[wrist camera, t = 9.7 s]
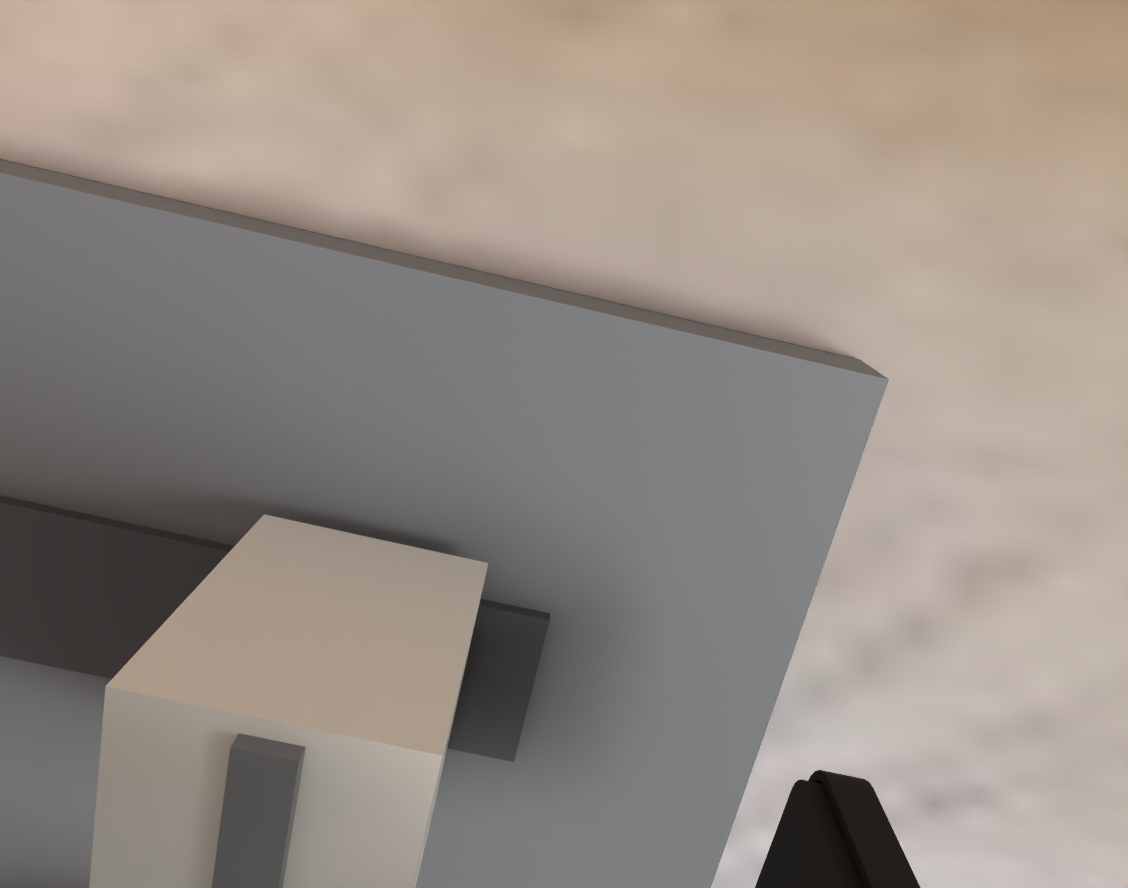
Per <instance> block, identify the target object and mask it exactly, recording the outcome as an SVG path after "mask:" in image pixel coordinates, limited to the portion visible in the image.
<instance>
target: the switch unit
mask: <svg viewBox="0 0 1128 888" xmlns="http://www.w3.org/2000/svg"><path fill="white" fill-rule="evenodd" d="M888 380H889V379H887V378H886V377H884V376H883V375H882V374H880V373H879V372H877V371H876V370H874V369H873V368H871V367H870V366H868V365H867V364H866V363H864V362H863V361H861V360H858V359H854V358H850V357H845V356H841V355H837V354H833V353H828V352H824V351H820V350H815V349H811V348H807V347H803V346H798V345H794V344H790V343H785V342H781V341H777V340H773V339H768V338H764V337H760V336H756V335H751V334H747V333H743V332H738V331H734V330H730V329H726V328H721V327H717V326H713V325H708V324H704V323H700V322H696V321H691V320H687V319H683V318H678V317H674V316H670V315H666V314H661V313H657V312H653V311H648V310H644V309H640V308H636V307H631V306H627V305H623V304H618V303H614V302H610V301H606V300H601V299H597V298H593V297H588V296H584V295H580V294H576V293H571V292H567V291H563V290H558V289H554V288H550V287H546V286H541V285H537V284H533V283H528V282H524V281H520V280H516V279H511V278H507V277H503V276H498V275H494V274H490V273H486V272H481V271H477V270H473V269H468V268H464V267H460V266H456V265H451V264H447V263H443V262H438V261H434V260H430V259H426V258H421V257H417V256H413V255H408V254H404V253H400V252H396V251H391V250H387V249H383V248H378V247H374V246H370V245H366V244H361V243H357V242H353V241H348V240H344V239H340V238H336V237H331V236H327V235H323V234H318V233H314V232H310V231H306V230H301V229H297V228H293V227H288V226H284V225H280V224H276V223H271V222H267V221H263V220H258V219H254V218H250V217H246V216H241V215H237V214H233V213H228V212H224V211H220V210H216V209H211V208H207V207H203V206H198V205H194V204H190V203H186V202H181V201H177V200H173V199H168V198H164V197H160V196H156V195H151V194H147V193H143V192H138V191H134V190H130V189H126V188H121V187H117V186H113V185H109V184H104V183H100V182H96V181H91V180H87V179H83V178H79V177H74V176H70V175H66V174H61V173H57V172H53V171H49V170H44V169H40V168H36V167H31V166H27V165H23V164H19V163H14V162H10V161H6V160H1V159H0V888H89V884H90V871H91V859H92V847H93V834H94V822H95V809H96V797H97V785H98V772H99V760H100V747H101V735H102V723H103V710H104V698H105V686H106V685H107V684H108V683H109V682H110V681H111V680H112V679H113V678H114V676H115V675H116V674H117V673H118V672H119V671H120V670H121V669H122V668H123V667H124V666H125V665H126V663H127V662H128V661H129V660H130V659H131V658H132V657H133V656H134V655H135V654H136V653H137V652H138V650H139V649H140V648H141V647H142V646H143V645H144V644H145V643H146V642H147V641H148V640H149V639H150V637H151V636H152V635H153V634H154V633H155V632H156V631H157V630H158V629H159V628H160V627H161V626H162V624H163V623H164V622H165V621H166V620H167V619H168V618H169V617H170V616H171V615H172V614H173V613H174V611H175V610H176V609H177V608H178V607H179V606H180V605H181V604H182V603H183V602H184V601H185V600H186V598H187V597H188V596H189V595H190V594H191V593H192V592H193V591H194V590H195V589H196V588H197V587H198V585H199V584H200V583H201V582H202V581H203V580H204V579H205V578H206V577H207V576H208V575H209V574H210V572H211V571H212V570H213V569H214V568H215V567H216V566H217V565H218V564H219V563H220V562H221V561H222V559H223V558H224V557H225V556H226V555H227V554H228V553H229V552H230V551H231V550H232V549H233V548H234V546H235V545H236V544H237V543H238V542H239V541H240V540H241V539H242V538H243V537H244V536H245V535H246V533H247V532H248V531H249V530H250V529H251V528H252V527H253V526H254V525H255V524H256V523H257V522H258V520H259V519H260V518H261V517H262V516H263V515H264V514H265V515H270V516H274V517H279V518H283V519H288V520H293V521H297V522H302V523H306V524H311V525H316V526H320V527H325V528H329V529H334V530H339V531H343V532H348V533H352V534H357V535H362V536H366V537H371V538H375V539H380V540H385V541H389V542H394V543H398V544H403V545H408V546H412V547H417V548H421V549H426V550H431V551H435V552H440V553H444V554H449V555H454V556H458V557H463V558H467V559H472V560H477V561H481V562H486V563H488V567H487V571H486V576H485V580H484V585H483V589H482V594H481V598H480V603H479V607H478V612H477V616H476V621H475V625H474V630H473V634H472V639H471V643H470V648H469V652H468V657H467V661H466V666H465V670H464V675H463V679H462V684H461V688H460V693H459V697H458V702H457V706H456V711H455V715H454V720H453V724H452V729H451V733H450V738H449V742H448V747H447V751H446V756H445V760H444V765H443V769H442V774H441V778H440V783H439V787H438V792H437V796H436V801H435V805H434V809H433V814H432V818H431V822H430V827H429V831H428V835H427V839H426V844H425V848H424V852H423V857H422V861H421V865H420V869H419V874H418V878H417V882H416V887H415V888H711V885H712V882H713V879H714V876H715V874H716V871H717V868H718V865H719V862H720V859H721V857H722V854H723V851H724V848H725V845H726V842H727V839H728V837H729V834H730V831H731V828H732V825H733V822H734V819H735V817H736V814H737V811H738V808H739V805H740V802H741V799H742V797H743V794H744V791H745V788H746V785H747V782H748V779H749V777H750V774H751V771H752V768H753V765H754V762H755V759H756V757H757V754H758V751H759V748H760V745H761V742H762V739H763V737H764V734H765V731H766V728H767V725H768V722H769V719H770V717H771V714H772V711H773V708H774V705H775V702H776V699H777V697H778V694H779V691H780V688H781V685H782V682H783V680H784V677H785V674H786V671H787V668H788V665H789V662H790V660H791V657H792V654H793V651H794V648H795V645H796V642H797V640H798V637H799V634H800V631H801V628H802V625H803V622H804V620H805V617H806V614H807V611H808V608H809V605H810V602H811V600H812V597H813V594H814V591H815V588H816V585H817V582H818V580H819V577H820V574H821V571H822V568H823V565H824V562H825V560H826V557H827V554H828V551H829V548H830V545H831V542H832V540H833V537H834V534H835V531H836V528H837V525H838V522H839V520H840V517H841V514H842V511H843V508H844V505H845V503H846V500H847V497H848V494H849V491H850V488H851V485H852V483H853V480H854V477H855V474H856V471H857V468H858V465H859V463H860V460H861V457H862V454H863V451H864V448H865V445H866V443H867V440H868V437H869V434H870V431H871V428H872V425H873V423H874V420H875V417H876V414H877V411H878V408H879V405H880V403H881V400H882V397H883V394H884V391H885V388H886V385H887V383H888Z"/></svg>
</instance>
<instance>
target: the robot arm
mask: <svg viewBox="0 0 1128 888" xmlns="http://www.w3.org/2000/svg"><path fill="white" fill-rule="evenodd" d="M755 888H920V886H919V884H918V882H917V880H916V878H915V876H914V873H913V871H912V869H911V867H910V865H909V863H908V861H907V859H906V857H905V854H904V852H903V850H902V848H901V846H900V844H899V842H898V840H897V837H896V835H895V833H894V831H893V829H892V827H891V825H890V823H889V821H888V818H887V816H886V814H885V812H884V810H883V808H882V806H881V804H880V802H879V799H878V797H877V795H876V793H875V791H874V789H873V787H872V786H871V784H870V783H869V782H868V781H866V780H865V779H861V778H856V777H851V776H846V775H841V774H836V773H831V772H826V771H822V770H818V771H815V772H814V773H813V774H812V775H811V777H810V779H809V781H805V780H798V781H797V782H796V783H795V784H794V786H793V788H792V790H791V793H790V795H789V798H788V801H787V803H786V806H785V809H784V812H783V814H782V817H781V820H780V822H779V825H778V828H777V830H776V833H775V836H774V838H773V841H772V844H771V846H770V849H769V852H768V854H767V857H766V860H765V862H764V865H763V868H762V870H761V873H760V876H759V878H758V881H757V884H756V887H755Z"/></svg>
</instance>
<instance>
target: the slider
mask: <svg viewBox="0 0 1128 888" xmlns="http://www.w3.org/2000/svg"><path fill="white" fill-rule="evenodd" d="M487 567H488V563H486V562H481V561H477V560H472V559H467V558H463V557H458V556H454V555H449V554H444V553H440V552H435V551H431V550H426V549H421V548H417V547H412V546H408V545H403V544H398V543H394V542H389V541H385V540H380V539H375V538H371V537H366V536H362V535H357V534H352V533H348V532H343V531H339V530H334V529H329V528H325V527H320V526H316V525H311V524H306V523H302V522H297V521H293V520H288V519H283V518H279V517H274V516H270V515H265V514H264V515H263V516H262V517H261V518H260V519H259V520H258V522H257V523H256V524H255V525H254V526H253V527H252V528H251V529H250V530H249V531H248V532H247V533H246V535H245V536H244V537H243V538H242V539H241V540H240V541H239V542H238V543H237V544H236V545H235V546H234V548H233V549H232V550H231V551H230V552H229V553H228V554H227V555H226V556H225V557H224V558H223V559H222V561H221V562H220V563H219V564H218V565H217V566H216V567H215V568H214V569H213V570H212V571H211V572H210V574H209V575H208V576H207V577H206V578H205V579H204V580H203V581H202V582H201V583H200V584H199V585H198V587H197V588H196V589H195V590H194V591H193V592H192V593H191V594H190V595H189V596H188V597H187V598H186V600H185V601H184V602H183V603H182V604H181V605H180V606H179V607H178V608H177V609H176V610H175V611H174V613H173V614H172V615H171V616H170V617H169V618H168V619H167V620H166V621H165V622H164V623H163V624H162V626H161V627H160V628H159V629H158V630H157V631H156V632H155V633H154V634H153V635H152V636H151V637H150V639H149V640H148V641H147V642H146V643H145V644H144V645H143V646H142V647H141V648H140V649H139V650H138V652H137V653H136V654H135V655H134V656H133V657H132V658H131V659H130V660H129V661H128V662H127V663H126V665H125V666H124V667H123V668H122V669H121V670H120V671H119V672H118V673H117V674H116V675H115V676H114V678H113V679H112V680H111V681H110V682H109V683H108V684H107V685H106V686H105V698H104V710H103V723H102V735H101V747H100V760H99V772H98V785H97V797H96V809H95V822H94V834H93V847H92V859H91V871H90V884H89V888H415V887H416V882H417V878H418V874H419V869H420V865H421V861H422V857H423V852H424V848H425V844H426V839H427V835H428V831H429V827H430V822H431V818H432V814H433V809H434V805H435V801H436V796H437V792H438V787H439V783H440V778H441V774H442V769H443V765H444V760H445V756H446V751H447V747H448V742H449V738H450V733H451V729H452V724H453V720H454V715H455V711H456V706H457V702H458V697H459V693H460V688H461V684H462V679H463V675H464V670H465V666H466V661H467V657H468V652H469V648H470V643H471V639H472V634H473V630H474V625H475V621H476V616H477V612H478V607H479V603H480V598H481V594H482V589H483V585H484V580H485V576H486V571H487Z"/></svg>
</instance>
